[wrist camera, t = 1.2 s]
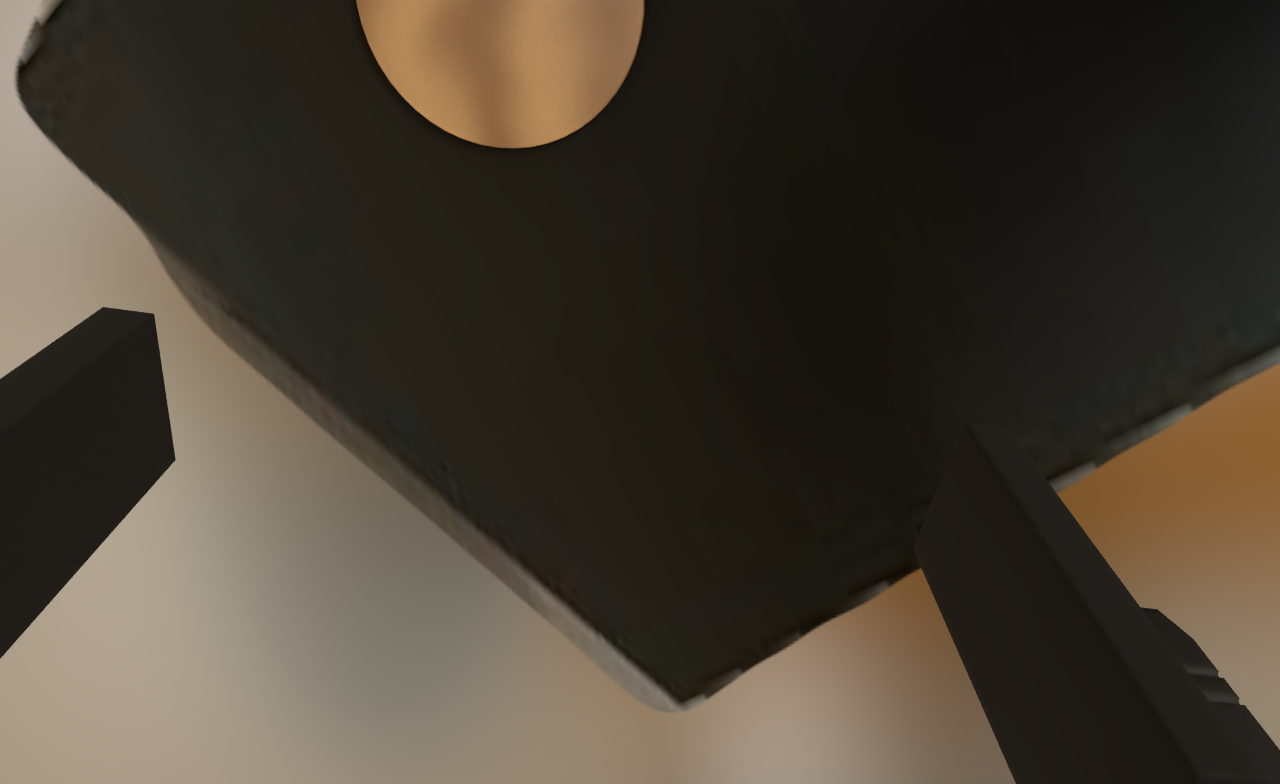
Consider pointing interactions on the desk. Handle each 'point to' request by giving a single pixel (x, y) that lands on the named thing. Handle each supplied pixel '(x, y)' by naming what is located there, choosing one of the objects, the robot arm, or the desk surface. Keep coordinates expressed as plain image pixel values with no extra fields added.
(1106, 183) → the desk surface
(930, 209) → the desk surface
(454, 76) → the cork mat
